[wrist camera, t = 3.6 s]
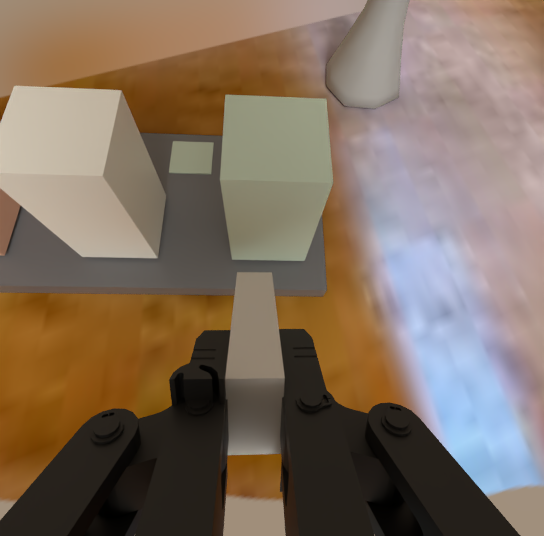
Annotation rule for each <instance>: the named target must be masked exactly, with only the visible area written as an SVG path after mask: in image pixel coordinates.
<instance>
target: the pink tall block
mask: <svg viewBox="0 0 544 536" xmlns="http://www.w3.org/2000/svg"><path fill="white" fill-rule="evenodd" d="M20 206H21V205H20V204H18V203H17V202H16V201H15V200H14V199H12V198H11V197H10V196H9V195H8V194H7V193H5V192H4V191H3V190H2V189H1V188H0V255H2V256H5V253H6V250H7V247H8V244H9V241H10V238H11V234H12V231H13V228H14V225H15V222H16V218H17V215H18V212H19V209H20Z"/></svg>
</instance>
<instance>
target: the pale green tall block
mask: <svg viewBox="0 0 544 536" xmlns="http://www.w3.org/2000/svg"><path fill="white" fill-rule="evenodd" d="M220 184H221V190H222V197H223V204H224V210H225V217H226V223H227V230H228V237H229V243H230V250H231V256H232V260H278V261H305V258H306V256H307V253H308V250H309V247H310V245H311V242H312V239H313V237H314V234H315V231H316V228H317V226H318V223H319V220H320V218H321V215H322V212H323V209H324V207H325V204H326V201H327V199H328V196H329V193H330V190H331V188H332V185H333V174H332V162H331V150H330V137H329V125H328V113H327V101H326V99H318V98H295V97H271V96H247V95H225V109H224V124H223V140H222V155H221V170H220Z"/></svg>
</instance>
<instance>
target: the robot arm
mask: <svg viewBox="0 0 544 536" xmlns="http://www.w3.org/2000/svg"><path fill="white" fill-rule="evenodd" d="M169 382H170V390H171V399H172V406H171V407H169V408H168V409H166V410H164V411H162V412H160V413H157V414H154V415H150V416H147V417H143V418H140V419H138V418H137V417H136V416H135V414H134V413H133V412H131V411H129V410H126V409H111V410H107V411H103V412H101V413H99V414H97V415H95V416H93V417H92V418H90V419H89V420H88V421H87V422H86V423H85V424H84V425H82V427H81V428H80V429H79V430H78V431H77V432H76V433H75V435H74V436H73V437H72V438H71V439H70V440H69V442H68V443H67V444H66V445H65V446H64V447H63V449H62V450H61V451H60V452H59V453H58V454H57V455H56V457H55V458H54V459H53V460H52V461H51V462H50V464H49V465H48V466H47V467H46V468H45V469H44V471H43V472H42V473H41V474H40V475H39V476H38V477H37V479H36V480H35V481H34V482H33V483H32V484H31V486H30V487H29V488H28V489H27V490H26V491H25V493H24V494H23V495H22V496H21V497H20V498H19V499H18V501H17V502H16V503H15V504H14V505H13V507H12V508H11V509H10V510H9V511H8V512H7V513H6V514H5V516H4V517H3V518H2V519H1V520H0V536H223V528H224V515H225V501H226V487H227V455H249V454H281V455H282V465H281V483H280V492H283V504H284V518H285V532H286V536H374V534H375V536H520V535H519V534H518V533H517V531H516V530H515V529H514V528H513V527H512V526H511V524H510V523H509V522H508V521H507V520H506V519H505V517H504V516H503V515H502V514H501V513H500V512H499V510H498V509H497V508H496V507H495V506H494V505H493V503H492V502H491V501H490V500H489V499H488V498H487V496H486V495H485V494H484V493H483V492H482V491H481V489H480V488H479V487H478V486H477V485H476V484H475V482H474V481H473V480H472V479H471V478H470V477H469V475H468V474H467V473H466V472H465V471H464V470H463V468H462V467H461V466H460V465H459V464H458V463H457V461H456V460H455V459H454V458H453V457H452V456H451V454H450V453H449V452H448V451H447V450H446V449H445V447H444V446H443V445H442V444H441V443H440V442H439V440H438V439H437V438H436V437H435V436H434V435H433V433H432V432H431V431H430V430H429V429H428V428H427V426H426V425H425V424H424V423H423V422H422V421H421V419H420V418H419V417H418V416H416V415H415V414H414V413H413V412H412V411H411V410H409V409H407V408H405V407H403V406H401V405H398V404H393V403H380V404H378V405H375V406H373V407H372V409H371V410H370V411H369V413H364V412H360V411H356V410H352V409H349V408H346V407H344V406H342V405H340V404H338V403H337V402H336V401H335V400H334V398H333V396H332V395H331V394H330V393H329V392H328V391H327V390H326V387H325V383H324V380H323V376H322V372H321V369H320V365H319V361H318V358H317V354H316V350H315V347H314V343H313V339H312V337H311V336H310V335H309V334H308V333H307V332H306V331H305V330H304V329H279V326H278V318H277V310H276V302H275V293H274V285H273V277H272V272H237V278H236V287H235V296H234V305H233V313H232V322H231V330H208V331H204V332H203V333H202V334H201V335H200V336H199V337H198V338H197V339H196V342H195V346H194V351H193V353H192V357H191V361H190V363H189V364H186V365H184V366H181V367H180V368H179V369H177V370H176V371H175V372H174V373H173V374H172V376H171V377H170V379H169Z"/></svg>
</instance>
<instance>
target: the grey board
mask: <svg viewBox="0 0 544 536" xmlns="http://www.w3.org/2000/svg"><path fill="white" fill-rule="evenodd" d="M140 135H141V137H142V140H143V142H144V144H145V147H146V149H147V151H148V154H149V156H150V158H151V161H152V163H153V166H154V168H155V170H156V173H157V175H158V177H159V180H160V182H161V184H162V187H163V189H164V191H165V194H166V201H165V208H164V216H163V224H162V231H161V239H160V246H159V254H158V258H112V257H82V256H80V255H79V254H78V253H77V252H76V251H74V250H73V249H72V248H71V247H70V246H69V245H67V244H66V243H65V242H64V241H63V240H61V239H60V238H59V237H58V236H57V235H55V234H54V233H53V232H52V231H51V230H49V229H48V228H47V227H46V226H45V225H43V224H42V223H41V222H40V221H39V220H38V219H36V218H35V217H34V216H33V215H32V214H30V213H29V212H28V211H27V210H26V209H24V208H23V207H22V206H20V209H19V212H18V215H17V218H16V222H15V225H14V228H13V231H12V234H11V238H10V241H9V244H8V247H7V250H6V253H5V256H2V255H0V292H14V293H91V294H169V295H235V287H236V278H237V272H272V277H273V285H274V293H275V296H323V295H324V294H325V292H326V291H327V284H326V269H325V253H324V238H323V222H322V215H321V218H320V220H319V223H318V226H317V228H316V231H315V234H314V237H313V239H312V242H311V245H310V247H309V250H308V253H307V256H306V258H305V261H278V260H232V256H231V250H230V243H229V237H228V230H227V223H226V217H225V210H224V204H223V197H222V190H221V184H220V170H221V155H222V140H223V136H212V135H185V134H157V133H140Z"/></svg>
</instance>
